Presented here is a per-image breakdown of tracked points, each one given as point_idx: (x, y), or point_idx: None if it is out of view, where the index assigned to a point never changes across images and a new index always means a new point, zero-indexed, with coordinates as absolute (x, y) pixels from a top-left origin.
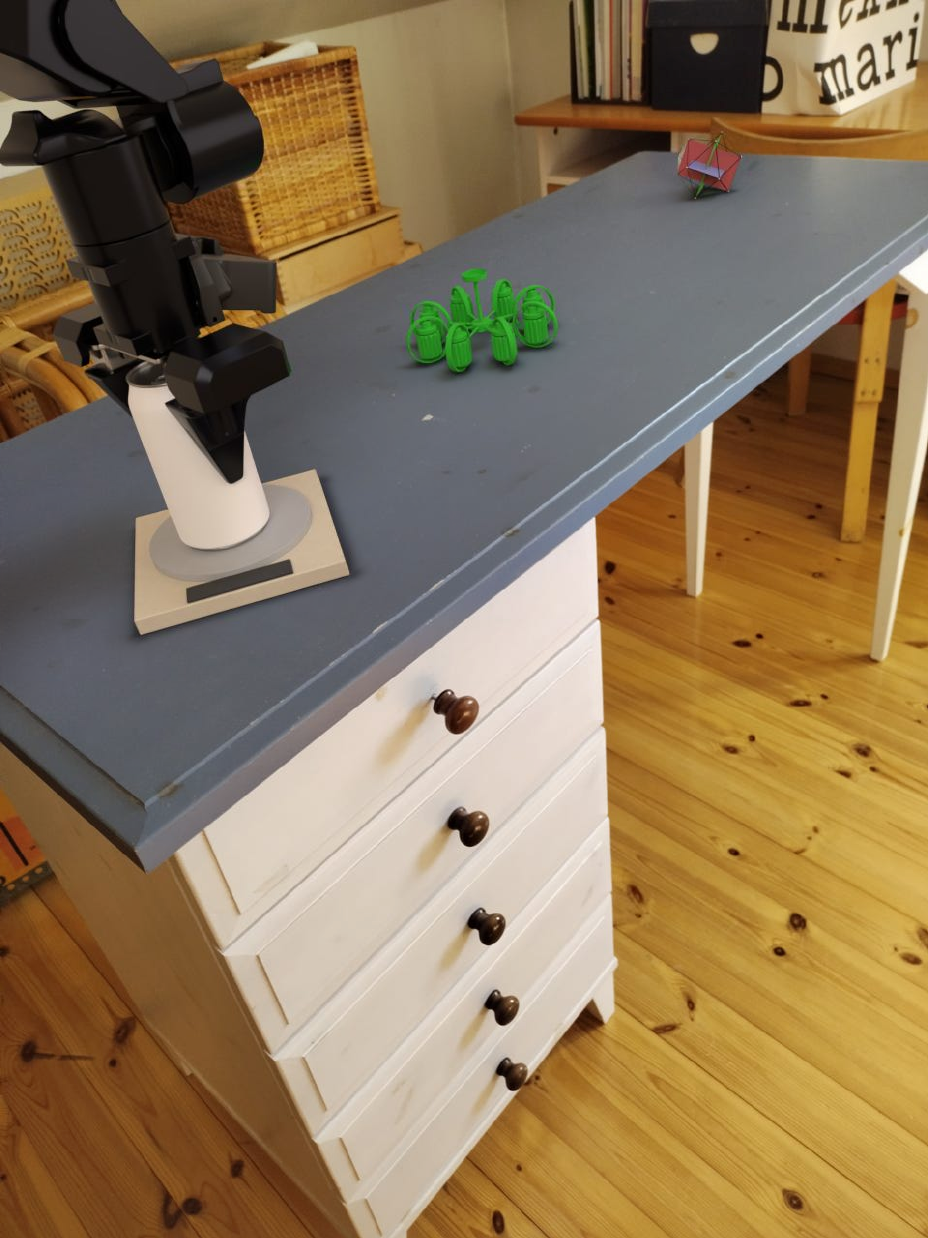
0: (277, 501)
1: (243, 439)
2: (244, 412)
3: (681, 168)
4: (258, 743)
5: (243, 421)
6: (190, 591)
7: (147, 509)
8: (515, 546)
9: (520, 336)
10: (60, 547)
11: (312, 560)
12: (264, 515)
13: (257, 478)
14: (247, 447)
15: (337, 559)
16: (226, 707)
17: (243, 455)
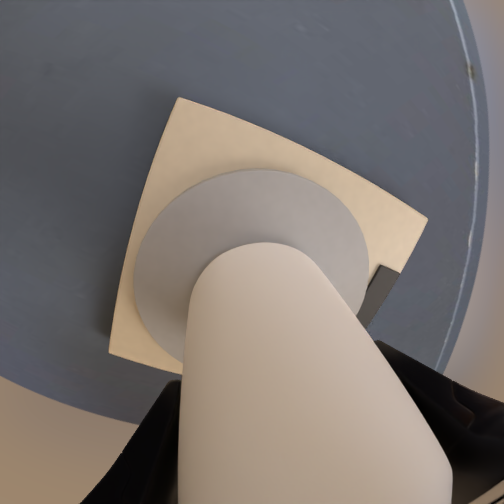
0: (254, 213)
1: (440, 374)
2: (491, 400)
3: None
4: (454, 341)
5: (472, 393)
6: None
7: (66, 316)
8: (483, 89)
9: None
10: (95, 390)
11: (399, 244)
12: (320, 269)
13: (331, 288)
14: (363, 331)
15: (420, 224)
16: (425, 350)
17: (412, 359)
